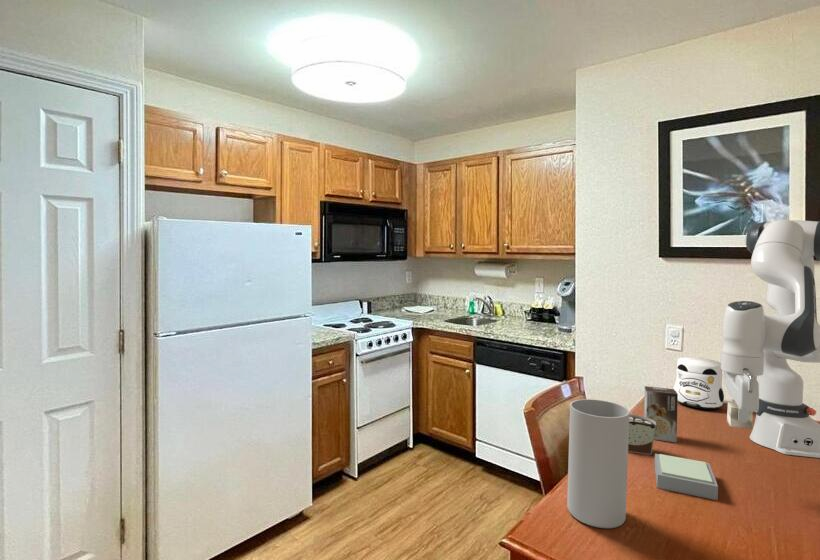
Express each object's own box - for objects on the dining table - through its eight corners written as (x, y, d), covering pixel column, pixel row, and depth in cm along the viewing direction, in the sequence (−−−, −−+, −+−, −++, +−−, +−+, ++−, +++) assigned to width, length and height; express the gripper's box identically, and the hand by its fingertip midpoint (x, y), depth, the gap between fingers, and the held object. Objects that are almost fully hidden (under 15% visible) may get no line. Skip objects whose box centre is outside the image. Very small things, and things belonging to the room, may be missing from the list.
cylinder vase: (596, 535, 95) (600, 420, 94) (555, 505, 107) (558, 402, 105) (638, 522, 100) (642, 413, 99) (594, 495, 112) (598, 396, 110)
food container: (653, 447, 140) (654, 416, 140) (656, 455, 134) (658, 423, 134) (610, 441, 144) (611, 411, 144) (612, 449, 138) (613, 417, 138)
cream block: (747, 423, 116) (748, 404, 116) (752, 429, 112) (752, 410, 112) (726, 420, 118) (727, 402, 118) (730, 426, 114) (731, 407, 114)
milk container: (683, 410, 175) (685, 365, 174) (666, 397, 192) (667, 355, 191) (732, 413, 172) (734, 367, 171) (710, 399, 189) (712, 357, 188)
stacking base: (708, 475, 122) (709, 461, 122) (717, 500, 110) (718, 484, 109) (654, 465, 128) (655, 451, 128) (657, 487, 115) (657, 472, 115)
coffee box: (673, 435, 150) (675, 388, 149) (676, 443, 144) (679, 394, 143) (642, 431, 153) (644, 385, 152) (644, 438, 147) (646, 390, 146)
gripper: (768, 376, 104) (765, 434, 105) (747, 358, 122) (745, 407, 123) (735, 373, 107) (733, 429, 107) (719, 355, 125) (718, 404, 126)
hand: (739, 417), depth 115 cm, fingers closed on cream block, 4 cm apart
